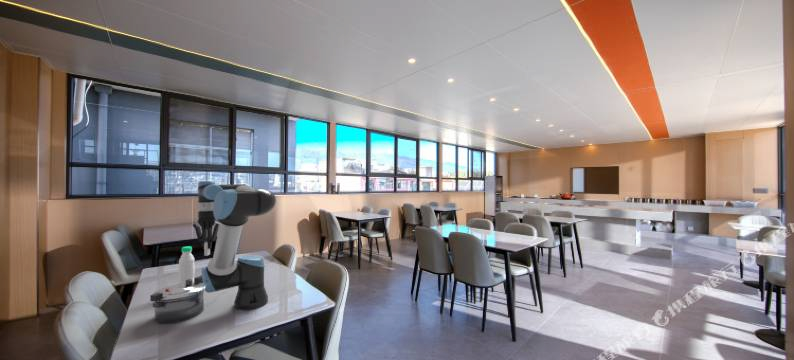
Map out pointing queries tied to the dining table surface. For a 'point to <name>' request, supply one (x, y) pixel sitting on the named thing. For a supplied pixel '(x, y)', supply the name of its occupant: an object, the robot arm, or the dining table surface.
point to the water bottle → (186, 265)
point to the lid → (179, 290)
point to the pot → (179, 309)
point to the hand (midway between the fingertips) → (207, 255)
